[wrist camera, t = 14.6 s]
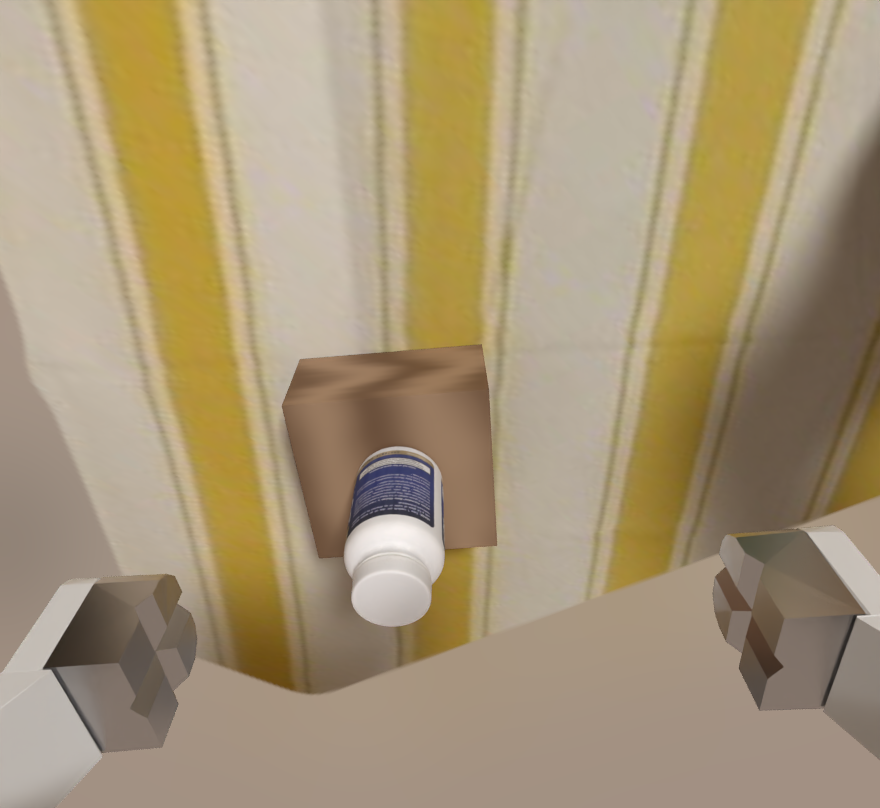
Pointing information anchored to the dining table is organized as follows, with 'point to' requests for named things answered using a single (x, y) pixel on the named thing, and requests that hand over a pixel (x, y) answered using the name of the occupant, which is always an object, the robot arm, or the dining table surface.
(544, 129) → the dining table surface
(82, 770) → the robot arm
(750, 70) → the dining table surface
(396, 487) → the pill bottle
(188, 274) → the dining table surface
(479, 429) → the walnut riser
